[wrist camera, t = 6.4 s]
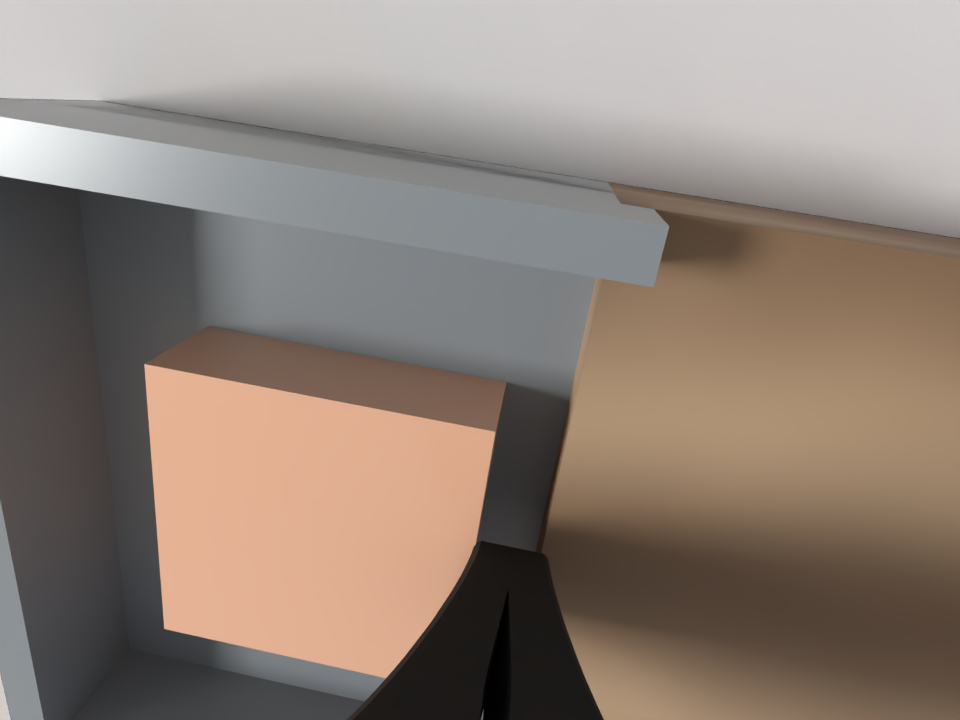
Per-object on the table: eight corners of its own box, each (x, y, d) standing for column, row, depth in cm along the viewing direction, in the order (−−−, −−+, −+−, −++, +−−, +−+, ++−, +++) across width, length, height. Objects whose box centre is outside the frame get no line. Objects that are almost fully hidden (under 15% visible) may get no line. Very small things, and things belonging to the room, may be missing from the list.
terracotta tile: (464, 616, 14) (449, 692, 12) (215, 563, 14) (164, 628, 13) (506, 381, 12) (495, 431, 10) (208, 325, 12) (144, 364, 10)
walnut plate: (937, 787, 17) (1012, 922, 14) (498, 690, 17) (485, 801, 15) (1270, 288, 11) (1504, 347, 8) (608, 182, 12) (619, 203, 9)
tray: (515, 694, 17) (499, 878, 13) (146, 613, 18) (21, 763, 14) (633, 186, 12) (669, 226, 8) (97, 100, 13) (-133, 94, 8)
